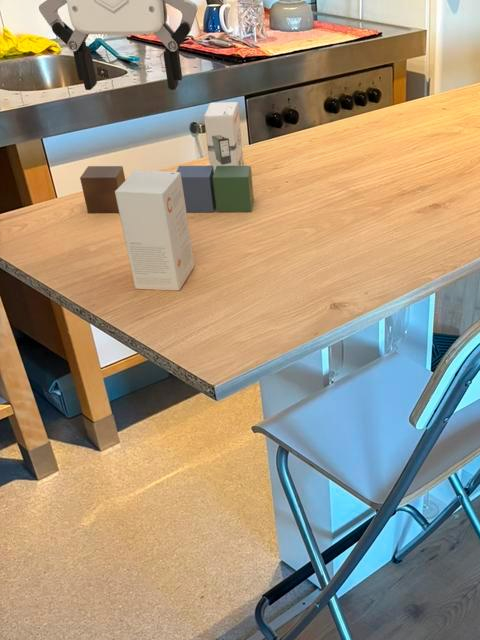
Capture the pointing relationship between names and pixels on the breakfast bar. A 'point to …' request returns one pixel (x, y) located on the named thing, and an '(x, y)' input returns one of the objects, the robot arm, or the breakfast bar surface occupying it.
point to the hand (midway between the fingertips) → (132, 87)
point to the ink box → (223, 134)
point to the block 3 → (233, 188)
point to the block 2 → (198, 188)
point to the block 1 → (102, 188)
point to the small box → (156, 229)
